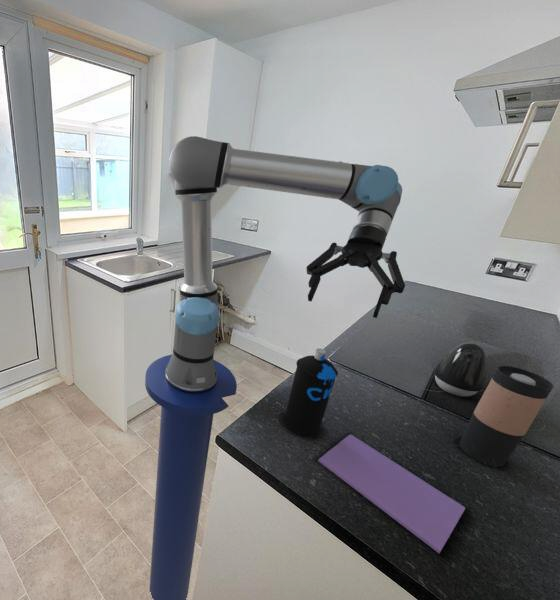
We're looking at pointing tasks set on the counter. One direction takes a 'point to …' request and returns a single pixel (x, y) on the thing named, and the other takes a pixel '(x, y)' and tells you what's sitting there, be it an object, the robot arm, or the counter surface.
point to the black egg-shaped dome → (462, 370)
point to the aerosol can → (310, 394)
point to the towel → (395, 491)
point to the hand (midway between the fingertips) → (340, 306)
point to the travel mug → (504, 414)
